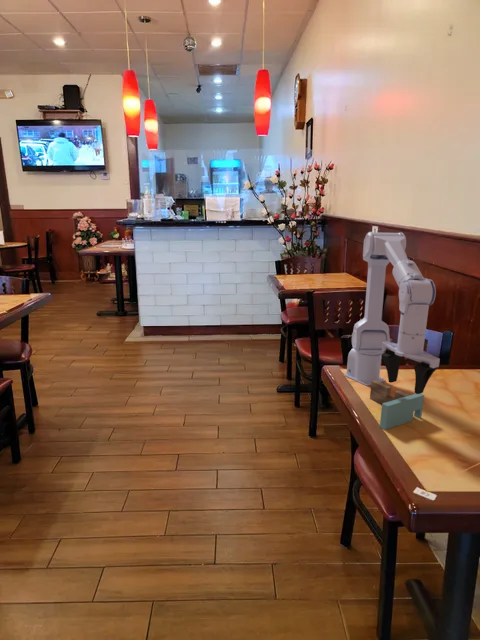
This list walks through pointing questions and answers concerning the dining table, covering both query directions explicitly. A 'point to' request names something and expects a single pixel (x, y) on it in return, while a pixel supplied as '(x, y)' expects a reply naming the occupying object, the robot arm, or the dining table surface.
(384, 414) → the teal slotted plate
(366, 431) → the dining table surface
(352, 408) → the dining table surface
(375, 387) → the walnut slotted plate
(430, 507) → the dining table surface
